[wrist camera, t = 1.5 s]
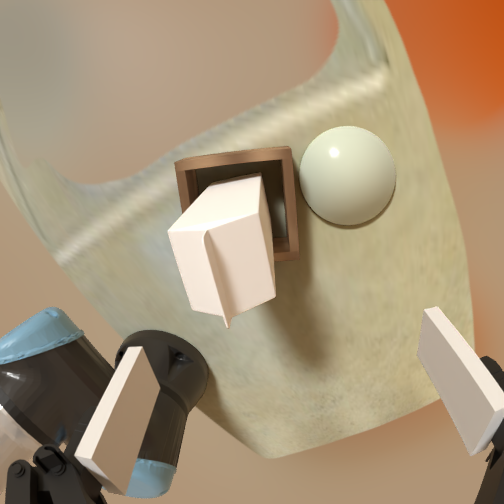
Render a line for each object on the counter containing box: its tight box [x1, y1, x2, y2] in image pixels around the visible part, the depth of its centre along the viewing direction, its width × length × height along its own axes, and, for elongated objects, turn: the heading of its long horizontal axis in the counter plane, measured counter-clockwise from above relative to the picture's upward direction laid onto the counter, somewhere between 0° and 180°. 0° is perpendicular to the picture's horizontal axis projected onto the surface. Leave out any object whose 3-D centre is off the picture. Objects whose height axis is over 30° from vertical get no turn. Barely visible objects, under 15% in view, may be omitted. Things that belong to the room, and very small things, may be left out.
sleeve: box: [174, 146, 300, 262], centre depth 36 cm, size 12×12×5 cm
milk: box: [168, 172, 276, 329], centre depth 28 cm, size 6×6×22 cm
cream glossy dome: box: [299, 126, 396, 225], centre depth 36 cm, size 12×12×1 cm
